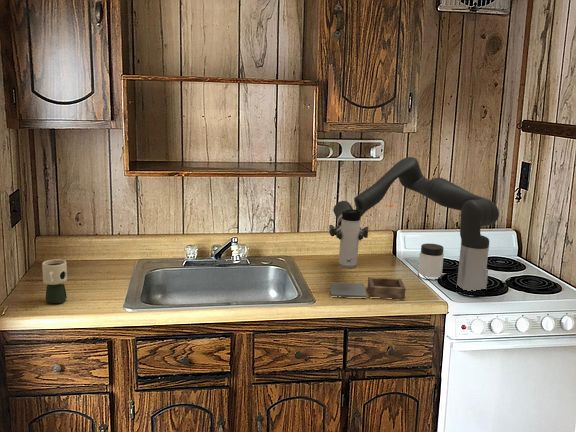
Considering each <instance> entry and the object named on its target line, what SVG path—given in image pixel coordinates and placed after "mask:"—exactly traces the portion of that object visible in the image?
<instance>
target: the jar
mask: <svg viewBox="0 0 576 432" xmlns="http://www.w3.org/2000/svg"><path fill="white" fill-rule="evenodd" d="M444 255H445V254H444V246H443V245H440V244H437V243H423V244H421V246H420V252H419V257H418V258H419V259H418V269H417V270H418V271H417V274H418V273H420V274H422V275H424V276H427V277H439V276H441V275H442V276H443V265H444V258H445V257H444Z"/></svg>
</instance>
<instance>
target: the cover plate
mask: <svg viewBox="0 0 576 432" xmlns="http://www.w3.org/2000/svg"><path fill="white" fill-rule="evenodd" d="M329 289H330V290H329V291H330V292H331V294H330V297H331V296H337V297H339V296H341V297H367V298H368V295H367V290H366V286H365V284H364V283H353V282H352V283H350V282H329Z"/></svg>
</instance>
